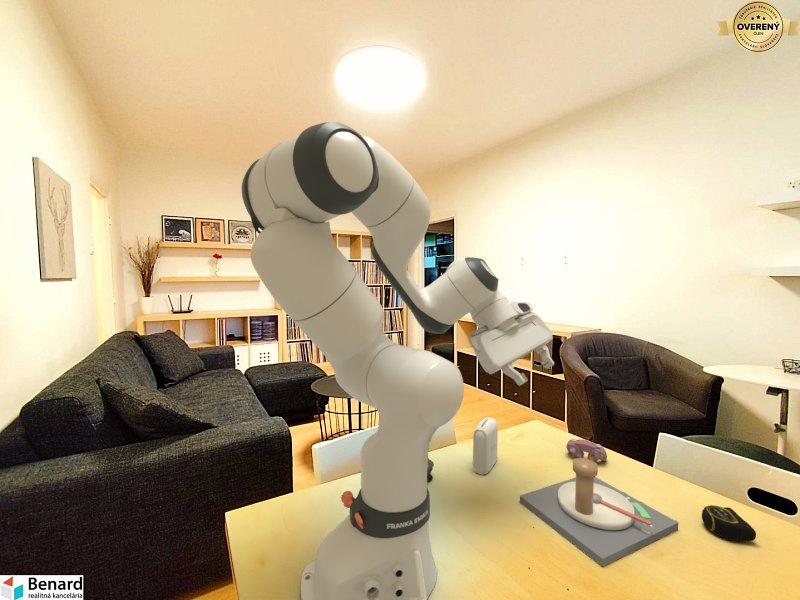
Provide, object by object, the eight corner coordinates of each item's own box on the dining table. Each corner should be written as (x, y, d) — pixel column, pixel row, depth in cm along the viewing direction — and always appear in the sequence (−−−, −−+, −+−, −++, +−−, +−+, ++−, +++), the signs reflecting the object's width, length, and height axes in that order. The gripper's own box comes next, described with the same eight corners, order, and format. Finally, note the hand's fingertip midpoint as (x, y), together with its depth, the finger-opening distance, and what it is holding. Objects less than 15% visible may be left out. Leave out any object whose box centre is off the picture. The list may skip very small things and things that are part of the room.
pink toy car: (566, 460, 102) (564, 443, 99) (568, 448, 105) (567, 430, 102) (606, 471, 96) (605, 453, 93) (608, 457, 99) (607, 439, 97)
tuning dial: (545, 504, 77) (546, 453, 76) (576, 480, 86) (577, 434, 85) (636, 551, 64) (638, 490, 63) (661, 516, 73) (663, 463, 72)
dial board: (602, 567, 62) (602, 557, 62) (519, 502, 81) (519, 494, 81) (678, 529, 72) (678, 521, 71) (588, 479, 90) (588, 472, 90)
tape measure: (757, 548, 67) (759, 528, 67) (714, 542, 68) (715, 523, 68) (733, 523, 74) (734, 505, 73) (694, 518, 75) (694, 501, 75)
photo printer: (483, 455, 102) (484, 412, 101) (499, 459, 100) (499, 415, 99) (470, 472, 93) (471, 425, 92) (487, 477, 91) (487, 428, 90)
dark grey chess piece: (432, 485, 87) (432, 436, 87) (408, 482, 89) (408, 434, 88) (435, 472, 93) (435, 427, 92) (412, 470, 94) (412, 425, 94)
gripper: (472, 327, 72) (515, 388, 67) (533, 301, 83) (574, 351, 78) (457, 342, 76) (496, 400, 71) (517, 315, 88) (554, 364, 83)
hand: (537, 374), depth 75 cm, fingers open, 8 cm apart
